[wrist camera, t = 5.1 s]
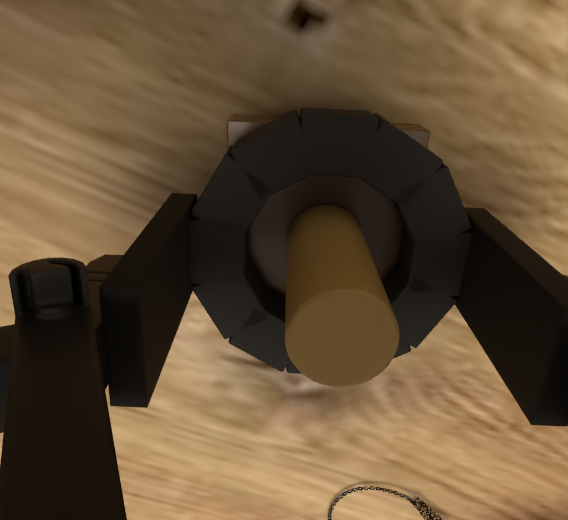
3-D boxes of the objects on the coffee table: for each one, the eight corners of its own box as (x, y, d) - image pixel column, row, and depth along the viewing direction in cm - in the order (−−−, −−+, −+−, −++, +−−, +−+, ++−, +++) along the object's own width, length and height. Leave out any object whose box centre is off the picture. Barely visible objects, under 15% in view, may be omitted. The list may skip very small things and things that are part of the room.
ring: (195, 101, 15) (184, 108, 13) (474, 115, 15) (495, 124, 13) (199, 342, 18) (191, 369, 16) (430, 353, 18) (443, 381, 16)
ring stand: (230, 115, 18) (179, 178, 9) (421, 125, 18) (537, 196, 10) (229, 287, 20) (188, 457, 12) (396, 295, 20) (470, 468, 12)
